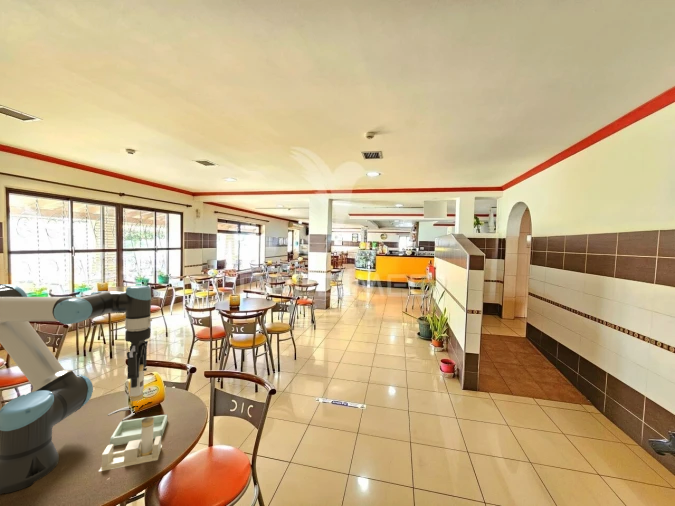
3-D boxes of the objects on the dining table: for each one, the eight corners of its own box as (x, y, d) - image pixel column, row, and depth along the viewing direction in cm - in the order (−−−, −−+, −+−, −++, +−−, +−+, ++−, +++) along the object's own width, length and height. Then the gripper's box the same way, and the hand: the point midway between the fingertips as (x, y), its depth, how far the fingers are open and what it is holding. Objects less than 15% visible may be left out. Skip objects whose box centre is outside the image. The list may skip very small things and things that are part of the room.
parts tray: (109, 448, 101) (110, 438, 101) (120, 430, 111) (120, 421, 111) (161, 439, 107) (162, 430, 107) (167, 422, 117) (167, 414, 117)
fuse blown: (129, 401, 102) (130, 368, 102) (133, 396, 105) (133, 364, 105) (140, 400, 103) (141, 367, 103) (144, 395, 106) (144, 363, 106)
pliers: (107, 412, 120) (142, 395, 135) (107, 416, 120) (142, 399, 135) (123, 417, 117) (157, 400, 131) (123, 421, 117) (157, 403, 131)
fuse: (139, 459, 96) (140, 423, 95) (142, 452, 99) (143, 417, 99) (151, 456, 97) (152, 421, 97) (153, 449, 100) (154, 416, 100)
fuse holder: (98, 474, 90) (99, 458, 90) (108, 456, 97) (108, 442, 97) (157, 462, 96) (157, 447, 96) (162, 446, 103) (162, 432, 103)
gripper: (142, 334, 97) (140, 402, 97) (156, 322, 113) (155, 381, 113) (116, 335, 95) (114, 405, 95) (134, 323, 110) (133, 383, 111)
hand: (137, 392), depth 104 cm, fingers closed on fuse blown, 3 cm apart
